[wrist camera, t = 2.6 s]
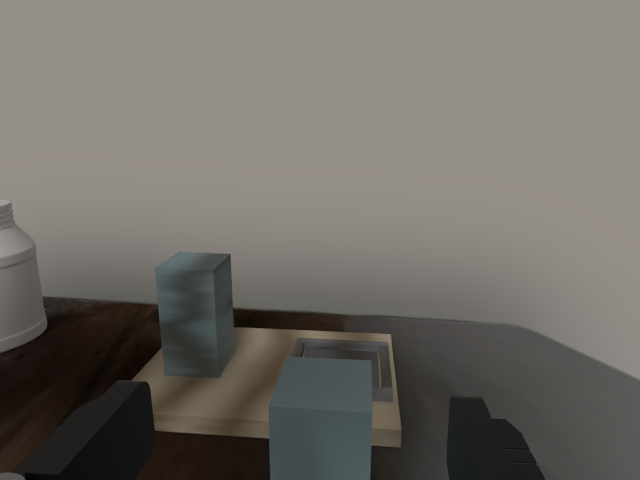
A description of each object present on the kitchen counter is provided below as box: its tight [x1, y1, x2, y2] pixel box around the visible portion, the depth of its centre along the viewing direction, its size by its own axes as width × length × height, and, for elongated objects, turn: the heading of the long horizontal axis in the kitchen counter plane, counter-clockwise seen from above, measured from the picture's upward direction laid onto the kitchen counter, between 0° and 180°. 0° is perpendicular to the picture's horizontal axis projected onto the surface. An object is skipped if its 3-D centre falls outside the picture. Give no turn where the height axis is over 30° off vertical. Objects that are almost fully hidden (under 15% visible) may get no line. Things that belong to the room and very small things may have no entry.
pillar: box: [268, 356, 372, 480], centre depth 26 cm, size 5×5×10 cm
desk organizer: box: [131, 252, 402, 448], centre depth 41 cm, size 23×16×12 cm
